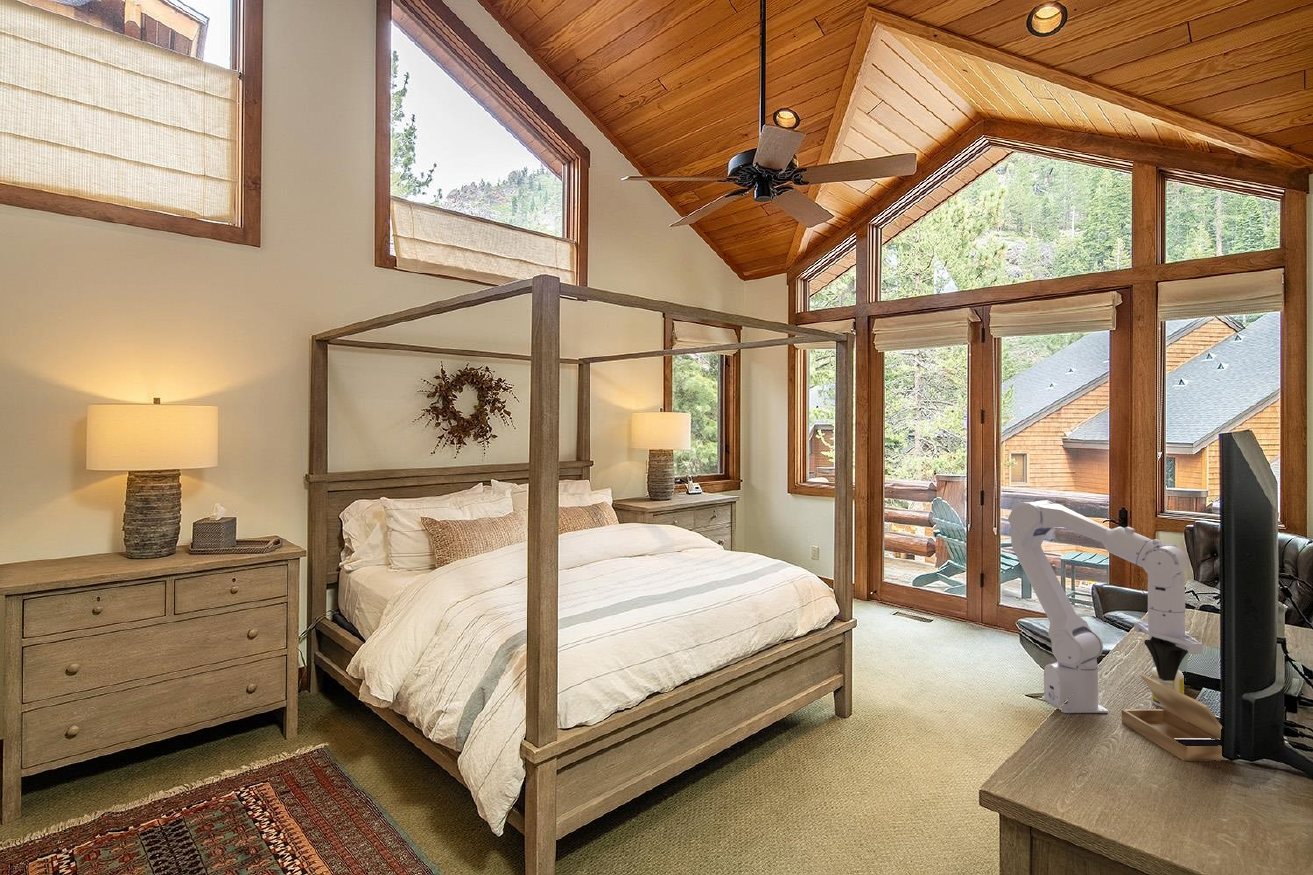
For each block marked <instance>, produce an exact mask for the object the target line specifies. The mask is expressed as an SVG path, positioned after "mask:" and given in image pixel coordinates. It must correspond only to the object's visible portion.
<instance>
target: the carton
mask: <svg viewBox="0 0 1313 875" xmlns="http://www.w3.org/2000/svg"><path fill="white" fill-rule="evenodd" d="M1121 723H1123V725H1126V726H1127V727H1129V728H1130V729H1132V730H1134V731H1135V732H1137V733H1139V735H1142V736H1143V737H1145V738H1146V739H1148V740H1150V741H1151V742H1153V743H1155V744H1156V745H1157V746H1159V747H1161V748H1162V749H1164V750H1165V751H1166V752H1169V753H1170V754H1172V755H1173V756H1175V757H1176V758H1179V759H1180V760H1182V761H1183V762H1206V761H1205V760H1208V761H1207V762H1211V761H1210V760H1216V761H1215V762H1222V761H1221V760H1224V758H1223V756H1222V746H1221V745H1218V746H1185V745H1183V744H1181V743H1179V742H1178V741H1176V740H1174V738H1211V739H1215V740H1219V738H1217V737H1215V736H1213V735H1211V734H1209V733H1208V732H1206V731H1204V730H1202V729H1200V728H1198V727H1197V726H1195V725H1193V724H1191V723H1189V722H1187V721H1186V720H1184V719H1182V718H1180V717H1178V716H1176V715H1175V714H1173V713H1171V712H1169V711H1167V710H1165V709H1164V708H1163V709H1159V708H1157V709H1155V708H1153V709H1152V708H1151V709H1149V708H1148V709H1143V708H1142V709H1139V708H1138V709H1137V708H1136V709H1121Z"/></svg>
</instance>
